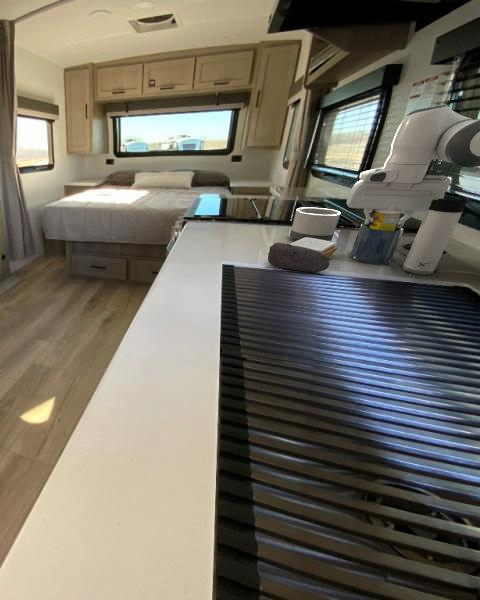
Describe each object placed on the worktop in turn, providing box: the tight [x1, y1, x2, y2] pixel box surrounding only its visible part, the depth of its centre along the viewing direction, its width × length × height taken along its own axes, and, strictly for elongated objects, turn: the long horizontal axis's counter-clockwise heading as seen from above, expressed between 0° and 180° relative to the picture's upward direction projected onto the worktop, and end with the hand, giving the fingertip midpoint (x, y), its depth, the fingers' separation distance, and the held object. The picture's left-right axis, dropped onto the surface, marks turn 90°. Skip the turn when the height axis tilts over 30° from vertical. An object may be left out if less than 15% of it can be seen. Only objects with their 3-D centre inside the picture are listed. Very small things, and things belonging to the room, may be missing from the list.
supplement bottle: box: [370, 203, 402, 231], centre depth 96 cm, size 6×6×10 cm
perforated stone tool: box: [267, 242, 331, 273], centre depth 93 cm, size 15×5×7 cm, turn 52°
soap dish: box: [290, 237, 339, 259], centre depth 102 cm, size 12×10×5 cm
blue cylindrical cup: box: [349, 222, 405, 266], centre depth 99 cm, size 10×10×10 cm
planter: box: [289, 207, 342, 242], centre depth 117 cm, size 13×13×10 cm
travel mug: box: [401, 198, 471, 276], centre depth 87 cm, size 6×7×20 cm
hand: (382, 225), depth 96 cm, fingers closed on supplement bottle, 5 cm apart
